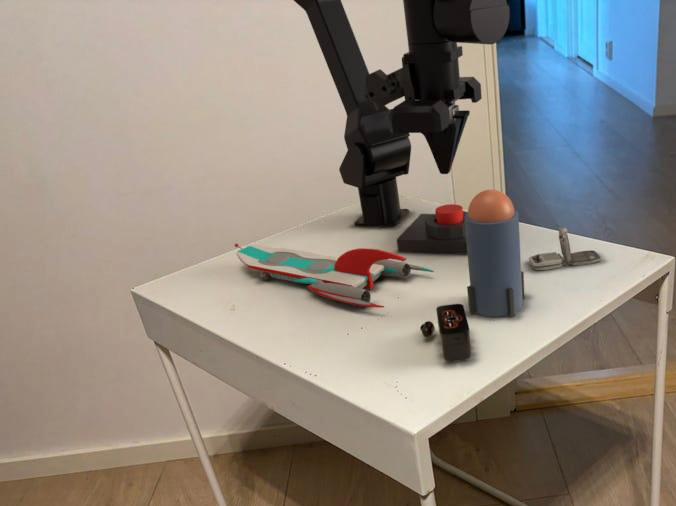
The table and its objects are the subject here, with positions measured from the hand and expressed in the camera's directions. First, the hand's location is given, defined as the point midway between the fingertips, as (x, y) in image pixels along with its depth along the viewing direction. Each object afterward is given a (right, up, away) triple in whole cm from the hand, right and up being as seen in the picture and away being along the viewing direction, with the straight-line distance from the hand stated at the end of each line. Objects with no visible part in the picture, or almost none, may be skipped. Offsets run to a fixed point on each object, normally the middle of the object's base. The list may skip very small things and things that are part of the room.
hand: (445, 173), depth 91 cm
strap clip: (+15, -12, -3) cm, 19 cm away
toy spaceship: (-16, -14, -2) cm, 21 cm away
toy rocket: (+6, -18, -12) cm, 23 cm away
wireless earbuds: (+1, -22, -19) cm, 29 cm away
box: (0, -7, +6) cm, 10 cm away
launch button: (0, -5, +3) cm, 6 cm away
